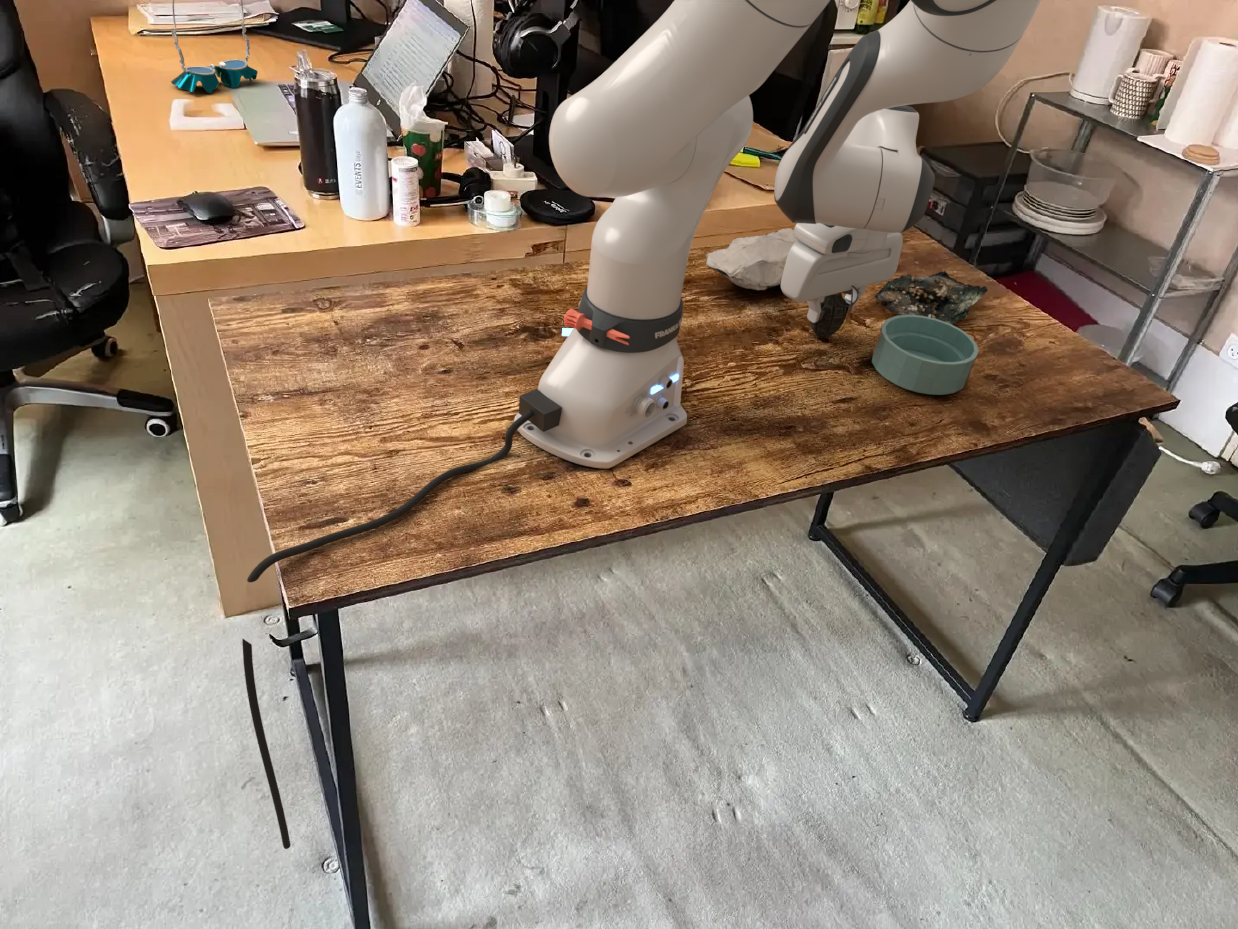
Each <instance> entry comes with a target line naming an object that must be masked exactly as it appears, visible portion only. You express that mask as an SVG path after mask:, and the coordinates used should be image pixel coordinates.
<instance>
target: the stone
mask: <svg viewBox="0 0 1238 929" xmlns="http://www.w3.org/2000/svg"><path fill="white" fill-rule="evenodd" d="M793 233H794V228H791V227H790V228H789V227H788V228H781V229H778V230H775V231H772V232H767V233H765V234H764V235H751V236H743V237H734V239H733V240H732V241H731V242H730V243H729V244H728V245H726V248H723V249H722V248H719V249H717V250H714V251H712V252H708V253H707V254H705V257H706V261H705V265H706V266H707V268H709V269H711V270H713V271H715V272H717V273H719V274H721V275H722V276H723V277H725V278H726V279H728V280H729V281H730V282H731V283H733V285H735V286H737V287H740V288H744V289H751V290H754V291H765V290H767V289H771V288H773V287H777V286H781V280H782V275H783V271H784V267H785V263H786V260H787V256H788V253H789V251H790V249H791V247H792V245H793V244H794V243H795V242H796V241H798V239H796V238H795V237H794V235H793Z"/></svg>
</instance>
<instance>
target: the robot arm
mask: <svg viewBox="0 0 1238 929" xmlns="http://www.w3.org/2000/svg"><path fill="white" fill-rule="evenodd" d="M830 2H831V0H673V1H672V3H671V4H670V6H668V8H667V9H666V10H665V11H664V12H663V14H662V15H661V16H660V17H659V18H658V19H657V20H656V21H655V22H654V23H653V24H652V25H651V26H650V27H649V28H648V29H647V30H646V31H645V32H644V33H643V34H642V35H641V36H640V37H639V38H638V39H636V41H635V42H634V43H633V44H632V45H631V46H629V48H628V49H627V50H626V51H624V53H622V55H620V56H619V57H618V58H617V60H615V61H614V62H613V63H612V64H611V65H610V66H609V67H608V68H607V69H606V70H605V71H604V72H603V73H602V74H601V75H599V76H598V77H597V78H596V79H594V80H593V81H592V82H590V83H589V84H588V85H586V86H585V87H584V88H582V89H580V90H579V91H578V92H575V93H574V94H573V95H571V96H569V97H567V98H566V99H564V100H563V101H562V102H561V103H560V104H559V105H558V107H557V108H556V110H555V111H554V113H553V115H552V119H551V123H550V125H549V126H550V127H549V133H548V146H549V152H550V158H551V160H552V163H553V166H554V169H555V170H556V172H557V174H558V176H559V177H560V179H561V180H562V181H563V183H564V184H565V186H567V187H568V188H569V189H570V190H571V191H572V192H574V193H576V194H578V195H580V196H583V197H587V198H614V200H613V202H612V203H611V204H610V205H609V207H608V208H607V209H606V210H605V211H604V212H603V213H602V214H601V216H600V217H599V219H598V220H597V222H596V224H595V226H594V229H593V232H592V235H591V245H590V255H589V265H588V275H587V276H588V277H587V285H586V286H585V288H584V290H583V293H582V296H581V298H580V300H579V302H578V306H577V307H578V309H577V310H575V309H573V308H569V309H568V310H566V313H565V315H564V317H563V324H564V326H565V327H562V328H561V329H562V330H561V336H562V337H566V338H565V340H564V341H563V343H562V344H561V345H560V347H559V349H558V350H557V352H556V354H555V355H554V356H553V358H552V359H551V361H550V363H549V364H548V366H547V367H546V369H545V371H544V372H543V374H542V375H541V377H540V379H539V382H538V386H537V388H535V389H532V390H530V391H528V392H525V393H523V394H520V395H519V400H518V412H517V413H516V415H515V416H514V420H513V422H512V424H511V425H510V426H509V427H508V429H507V431H506V432H505V435H504V436H505V437H504V444H503V447H502V448H501V449H500V450H499V451H497V453H496V454H495V455H493V456H491V457H489V458H487V459H485V460H482V461H478V462H473V463H468V464H465V465H460V466H457V467H454V468H451V469H448V470H447V471H445V472H442V473H440V475H438V476H436V477H435V478H433V479H432V480H431V481H429V482H428V483H427V484H426V485H424V487H422V488H421V489H420V490H418V492H417V493H416V494H414V495H413V497H411V498H410V499H409V500H407V501H405V503H404V504H402V505H401V506H399V507H397V508H396V509H394V510H392V511H390V512H389V513H387V514H385V515H382V516H381V517H378V518H375V519H373V520H371V521H367V522H365V523H362V524H359V525H355V526H352V527H349V528H345V529H342V530H338V531H335V532H332V533H329V534H325V535H323V536H320V537H318V538H315V539H313V540H310V541H307V542H304V543H302V544H298V545H295V546H291V547H288V548H285V549H281V550H279V551H277V552H274V553H272V554H270V555H269V556H267V557H265V558H264V559H262V560H261V561H260V562H258V564H257V565H256V566H255V567H254V568H253V569H252V570H251V572H250V574H249V575H248V577H247V579H246V581H247V583H255V582H256V581H258V580H259V578H260V577H261V576H262V575H263V573H264V572H265V571H266V570H268V568H270V567H271V566H273V565H274V564H276V563H278V562H279V561H282V560H285V559H288V558H291V557H295V556H298V555H301V554H304V553H307V552H310V551H312V550H314V549H318V548H320V547H323V546H325V545H328V544H331V543H334V542H336V541H340V540H343V539H347V538H350V537H354V536H356V535H360V534H363V533H366V532H370V531H373V530H375V529H378V528H381V527H382V526H385V525H387V524H389V523H391V522H393V521H395V520H397V519H398V518H400V517H402V516H403V515H405V514H406V513H408V512H409V511H411V510H412V509H414V507H416V506H417V505H418V504H419V503H420V502H422V501H423V499H424V498H426V497H427V496H428V495H430V493H432V491H434V490H435V489H436V488H437V487H439V486H440V485H441V484H443V483H445V482H446V481H448V480H449V479H452V478H453V477H456V476H459V475H462V474H466V473H470V472H472V471H475V470H478V469H480V468H483V467H484V466H487V465H489V464H493V463H495V462H498V461H501V459H503V458H505V457H506V456H507V454H509V452H510V451H511V450H512V447H513V438H514V435H515V433H516V432H518V433H519V434H520V435H521V436H522V437H523V438H524V439H525V440H527V441H528V442H530V443H531V444H533V445H534V446H536V447H538V448H539V449H541V450H543V451H546V452H548V453H549V454H551V455H554V456H557V457H558V458H560V459H562V460H565V461H568V462H571V463H574V464H577V465H580V466H583V467H589V468H596V469H610V468H614V467H616V466H617V465H619V464H621V463H622V462H624V461H626V460H627V459H629V458H631V457H633V456H634V455H636V454H638V453H639V452H641V451H642V450H644V449H646V448H648V447H650V446H651V445H653V444H655V443H656V442H658V441H660V440H662V439H663V438H666V437H667V436H668V435H670V434H672V433H674V432H675V431H678V430H679V429H681V428H683V427H684V426H686V425H687V423H688V413H687V411H686V410H685V409H684V408H683V406H682V405H681V399H682V388H683V381H684V380H683V378H684V366H685V360H684V356H683V353H682V351H681V349H680V345H679V342H678V338H677V336H678V335H679V333H680V330H681V324H682V321H683V316H684V311H683V310H684V301H683V298H682V293H683V288H684V284H685V277H686V272H687V268H688V261H689V257H690V252H691V248H692V245H693V240H694V238H695V235H696V232H697V229H698V228H699V225H700V222H701V220H702V217H703V215H704V213H705V211H706V208H707V206H708V204H709V202H710V200H711V198H712V196H713V194H714V192H715V189H716V187H717V185H718V183H719V182H720V180H721V178H722V176H723V175H724V173H725V171H726V170H727V168H728V167H729V166H730V164H731V163H732V161H733V160H734V159H735V158H736V157H737V155H738V154H740V153H741V151H742V150H743V149H744V148H745V146H746V145H747V143H748V141H749V139H750V137H751V134H752V130H753V124H754V110H753V104H752V100H751V97H750V95H751V94H753V93H754V92H756V91H757V90H758V89H759V88H760V87H761V86H762V85H763V84H764V83H765V82H766V81H767V80H768V78H769V77H770V76H771V75H772V73H773V72H774V71H775V70H776V68H777V67H778V66H779V64H780V63H781V62H782V61H783V60H784V58H785V57H786V56H787V55H788V54H789V52H790V51H791V50H792V49H793V48H794V47H795V45H797V43H798V42H799V41H800V39H801V38H802V37H803V35H804V34H805V33H806V32H807V31H808V29H809V28H810V27H811V26H812V25H813V23H814V22H815V20H816V19H817V18H818V17H819V16H820V14H822V12H823V11H824V9H825V8H826V7H827V5H829V3H830ZM1041 2H1042V0H909V1H908V2H907V4H906V5H905V6H904V7H903V8H902V9H901V10H900V12H899V13H898V14H896V15H895V17H893V18H892V19H891V20H890V21H888V22H887V23H886V24H884V25H883V26H882V27H880V28H879V29H877V30H876V29H875V30H874V31H871V32H869V33H867V34H865V35H863V36H862V37H860V39H859V40H858V41H857V42H856V43H855V45H853V48H852V49H851V50H850V52H849V53H848V54H847V56H846V57H845V59H844V60H843V62H842V63H841V65H840V67H839V68H838V69H837V71H836V73H835V75H834V76H833V78H832V80H831V81H830V83H829V85H828V86H827V88H826V90H824V93H823V95H822V97H821V98H820V99H819V101H818V103H817V105H816V106H815V108H814V110H813V111H812V113H811V115H810V117H809V119H807V121H806V123H805V125H804V126H803V128H802V129H801V131H800V133H799V134H798V135H797V136H796V137H795V139H794V140H793V141H792V142H791V143H790V144H789V146H788V147H787V149H786V150H785V152H784V154H783V156H782V158H781V159H780V161H779V164H778V166H777V168H776V173H775V177H774V184H773V185H774V189H773V190H774V193H773V196H774V198H773V199H774V202H775V204H776V205H777V207H778V208H779V210H780V211H781V212H782V214H783V215H784V216H785V217H786V218H787V219H788V220H789V221H790V222H791V223H792V224H795V225H794V228H793V229H794V233H793V235H794V237H795V238H796V239H798V241H796V242H795V243H794V244H793V245H792V247H791V249H790V251H789V253H788V256H787V260H786V263H785V267H784V271H783V275H782V280H781V284H780V289H781V292H782V293H783V295H784V296H786V297H787V298H788V299H790V300H792V301H793V302H795V303H797V304H803V303H806V302H807V306H808V307H807V308H808V309H807V310H808V311H807V314H806V319H807V320H808V321H809V322H810V321H811V322H813V323H815V322H819V321H822V320H823V316H824V313H825V310H823V309H821V305H820V302H823V301H824V298H825V296H829V295H833V294H837V293H840V292H844V291H848V290H851V288H852V289H853V300H852V303H854V301H855V300H856V298H857V291H856V290H855V288H853V287H852V286H854V287H856V289H857V290H858V299H857V301H856V302H855V303H854V304H853V305H852V306H851V310H850V306H848V307H847V313H846V315H848V314H850V313H851V314H852V313H854V312H855V308H856V304H857V303H858V302H859V301H860V299H861V298H862V296H863V295H864V293H865V292H866V291H867V287H868V286H870V285H874V284H878V283H882V282H886V281H891V279H892V278H893V277H894V275H895V274H896V272H897V270H898V266H899V263H900V259H901V254H902V249H903V243H904V238H903V235H902V234H903V233H904V232H906V231H908V230H909V229H911V228H913V227H914V226H915V225H916V224H918V223H919V222H920V221H921V220H922V219H923V218H924V216H925V213H926V211H927V208H928V205H929V201H930V200H931V196H932V192H933V189H934V185H935V182H936V181H935V179H936V178H935V177H936V176H935V173H934V171H933V170H932V169H931V167H930V166H929V164H928V162H927V160H925V159H924V158H923V156H921V154H919V153H918V150H917V144H916V143H917V134H918V128H919V124H920V114H919V112H918V111H917V110H916V109H915V108H914V107H912V105H921V104H933V103H945V102H950V101H953V100H954V101H955V100H958V99H961V98H964V97H966V96H969V95H971V94H974V93H975V92H977V91H979V90H981V89H982V88H983V87H985V86H986V85H987V84H988V83H990V82H991V81H992V80H993V79H994V78H995V77H996V76H997V75H998V74H999V73H1000V72H1001V70H1002V69H1003V68H1004V66H1006V64H1007V63H1008V61H1009V60H1010V58H1011V56H1012V55H1013V53H1014V52H1015V50H1016V49H1017V47H1018V45H1019V43H1020V41H1021V40H1022V38H1023V36H1024V34H1025V32H1026V31H1027V29H1028V27H1029V25H1030V23H1031V22H1032V20H1033V17H1034V16H1035V14H1036V11H1037V10H1038V8H1039V5H1040V3H1041ZM909 105H910V106H909ZM843 298H844V299H845V300H846V303H847V305H850V304H851V295H849V294H845V296H844V297H843ZM849 311H850V313H849ZM241 641H242V642H241V644H242V645H241V646H242V660H243V672H244V678H245V687H246V693H247V700H248V706H249V709H250V715H251V719H252V724H253V728H254V733H255V736H256V742H257V745H258V748H259V752H260V756H261V760H262V761H261V762H262V764H263V767H264V772H265V775H266V780H267V782H268V787H269V791H270V794H271V798H272V802H273V806H274V809H275V814H276V818H277V824H278V828H279V831H280V837H281V842H282V847H283V849H284V850H288V849H290V848H291V845H292V844H291V839H290V834H289V830H288V829H289V828H288V824H287V820H286V816H285V812H284V807H283V806H284V805H283V802H282V798H281V795H280V790H279V789H280V788H279V786H278V782H277V777H276V774H275V770H274V766H273V762H272V758H271V755H270V750H269V746H268V742H267V737H266V734H265V729H264V724H263V720H262V715H261V709H260V705H259V701H258V699H259V698H258V693H257V688H256V681H255V672H254V670H255V669H254V661H253V644H252V643H250V642H249V641H247V640H246V639H244V638H242V640H241Z"/></svg>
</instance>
